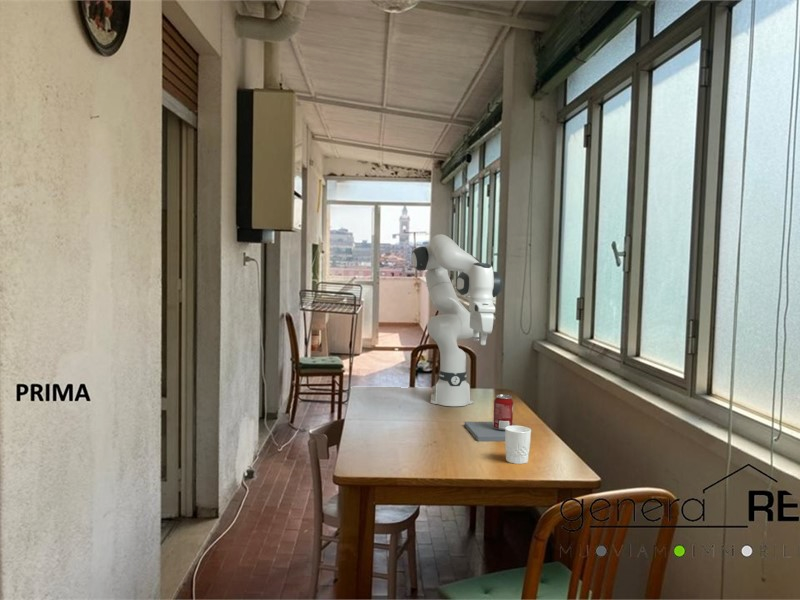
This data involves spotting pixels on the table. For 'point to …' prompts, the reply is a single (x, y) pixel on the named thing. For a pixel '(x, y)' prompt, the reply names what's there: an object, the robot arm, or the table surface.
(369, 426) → the table surface
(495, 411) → the soda can
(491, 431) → the slate board
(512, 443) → the white cup
